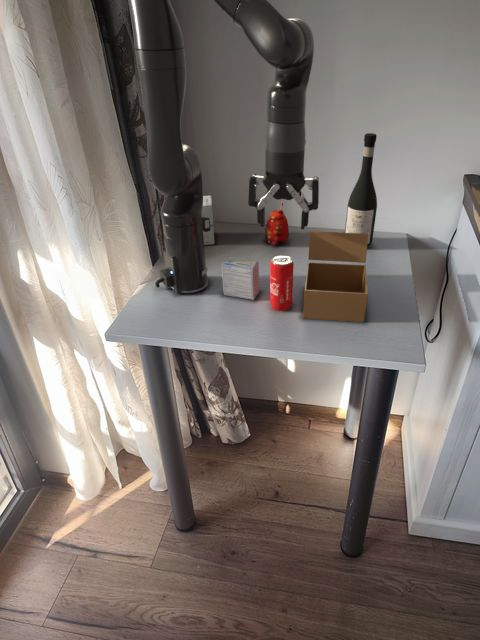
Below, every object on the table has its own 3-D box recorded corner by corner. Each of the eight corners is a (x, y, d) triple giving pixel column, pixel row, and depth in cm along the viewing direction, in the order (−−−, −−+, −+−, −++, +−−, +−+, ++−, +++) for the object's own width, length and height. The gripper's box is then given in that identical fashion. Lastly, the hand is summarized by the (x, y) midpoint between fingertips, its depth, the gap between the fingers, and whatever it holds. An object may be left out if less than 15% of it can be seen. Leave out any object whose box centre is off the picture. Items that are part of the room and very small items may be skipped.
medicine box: (259, 292, 119) (259, 260, 113) (253, 301, 115) (252, 268, 110) (230, 287, 121) (228, 255, 115) (223, 295, 117) (221, 263, 112)
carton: (306, 288, 120) (308, 262, 115) (361, 291, 118) (365, 265, 114) (303, 318, 109) (304, 290, 105) (363, 322, 107) (367, 294, 103)
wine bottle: (368, 251, 136) (383, 139, 118) (341, 247, 139) (351, 136, 121) (374, 240, 142) (389, 131, 124) (347, 236, 145) (358, 129, 126)
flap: (308, 259, 115) (308, 259, 115) (365, 262, 113) (365, 262, 114) (310, 231, 113) (310, 231, 113) (368, 233, 111) (368, 233, 112)
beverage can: (292, 312, 111) (294, 265, 104) (270, 312, 111) (270, 265, 104) (291, 300, 115) (293, 254, 108) (270, 300, 115) (270, 254, 108)
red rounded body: (261, 238, 144) (260, 188, 135) (282, 234, 146) (283, 185, 137) (272, 248, 138) (272, 197, 129) (293, 244, 141) (295, 193, 132)
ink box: (198, 233, 147) (194, 195, 140) (214, 232, 148) (211, 194, 141) (198, 245, 140) (194, 206, 133) (214, 244, 141) (212, 205, 134)
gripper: (245, 149, 89) (246, 231, 99) (321, 152, 88) (315, 236, 98) (251, 139, 95) (252, 218, 105) (323, 142, 94) (317, 221, 104)
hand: (282, 226), depth 101 cm, fingers open, 8 cm apart
